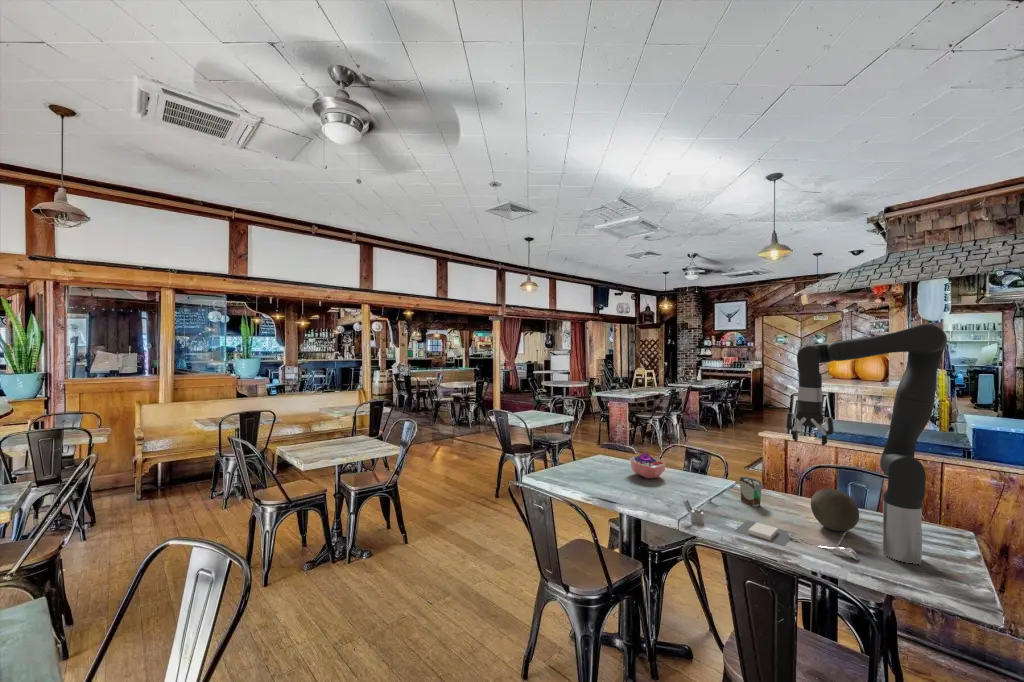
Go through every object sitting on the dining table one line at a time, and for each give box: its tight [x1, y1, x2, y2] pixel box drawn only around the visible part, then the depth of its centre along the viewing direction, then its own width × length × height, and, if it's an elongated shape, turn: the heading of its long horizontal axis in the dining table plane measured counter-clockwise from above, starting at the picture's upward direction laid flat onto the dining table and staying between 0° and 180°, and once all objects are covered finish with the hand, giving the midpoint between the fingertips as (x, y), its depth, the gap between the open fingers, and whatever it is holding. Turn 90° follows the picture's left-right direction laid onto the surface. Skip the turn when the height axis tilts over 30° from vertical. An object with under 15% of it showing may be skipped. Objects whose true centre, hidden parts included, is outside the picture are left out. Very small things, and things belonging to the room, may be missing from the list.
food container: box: [738, 476, 764, 508], centre depth 185 cm, size 12×6×10 cm, turn 0°
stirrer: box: [788, 532, 860, 561], centre depth 145 cm, size 20×4×5 cm
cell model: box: [629, 452, 666, 479], centre depth 221 cm, size 17×20×11 cm
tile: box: [748, 522, 779, 540], centre depth 155 cm, size 7×2×9 cm
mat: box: [734, 519, 796, 547], centre depth 157 cm, size 16×14×1 cm
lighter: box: [682, 499, 705, 525], centre depth 166 cm, size 7×2×8 cm, turn 53°
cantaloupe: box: [810, 488, 860, 532], centre depth 159 cm, size 14×14×15 cm
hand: (809, 443), depth 160 cm, fingers open, 8 cm apart
